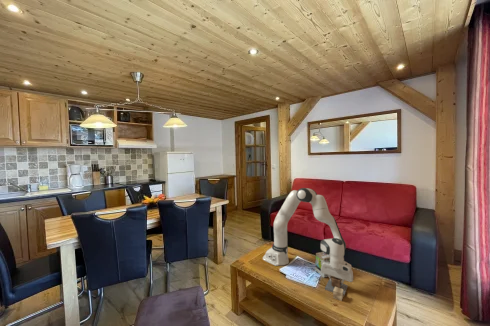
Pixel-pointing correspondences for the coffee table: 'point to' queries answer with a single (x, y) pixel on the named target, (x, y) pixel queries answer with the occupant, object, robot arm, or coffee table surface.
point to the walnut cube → (336, 282)
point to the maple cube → (338, 293)
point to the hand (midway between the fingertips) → (336, 283)
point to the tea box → (319, 258)
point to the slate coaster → (331, 288)
